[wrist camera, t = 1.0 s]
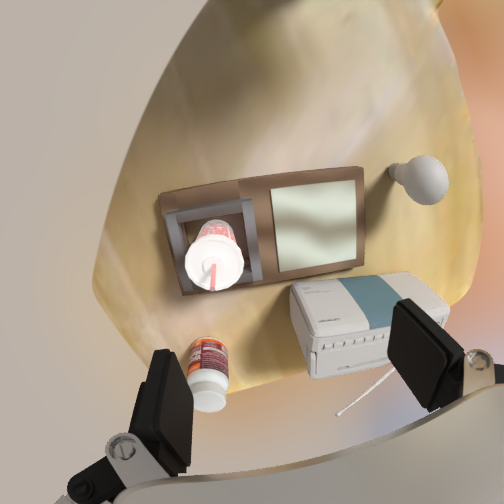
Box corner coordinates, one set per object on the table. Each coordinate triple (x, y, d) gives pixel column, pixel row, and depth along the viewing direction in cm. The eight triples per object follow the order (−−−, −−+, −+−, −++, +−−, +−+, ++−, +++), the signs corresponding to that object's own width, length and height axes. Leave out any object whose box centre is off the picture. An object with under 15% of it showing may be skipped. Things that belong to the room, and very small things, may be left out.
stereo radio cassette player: (407, 265, 42) (484, 333, 23) (397, 306, 45) (459, 381, 26) (288, 275, 40) (333, 378, 22) (285, 322, 43) (319, 426, 25)
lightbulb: (376, 193, 36) (422, 214, 26) (373, 151, 34) (421, 158, 24) (409, 189, 36) (457, 208, 26) (407, 149, 34) (457, 157, 24)
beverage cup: (184, 239, 36) (164, 292, 24) (213, 204, 35) (206, 241, 22) (219, 266, 38) (218, 328, 25) (249, 233, 37) (262, 284, 24)
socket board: (161, 192, 34) (153, 199, 30) (356, 166, 35) (372, 170, 30) (184, 288, 39) (180, 305, 35) (358, 259, 40) (371, 272, 36)
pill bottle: (195, 331, 42) (189, 384, 32) (232, 340, 43) (235, 393, 33) (187, 357, 44) (181, 409, 34) (221, 365, 46) (223, 417, 35)
